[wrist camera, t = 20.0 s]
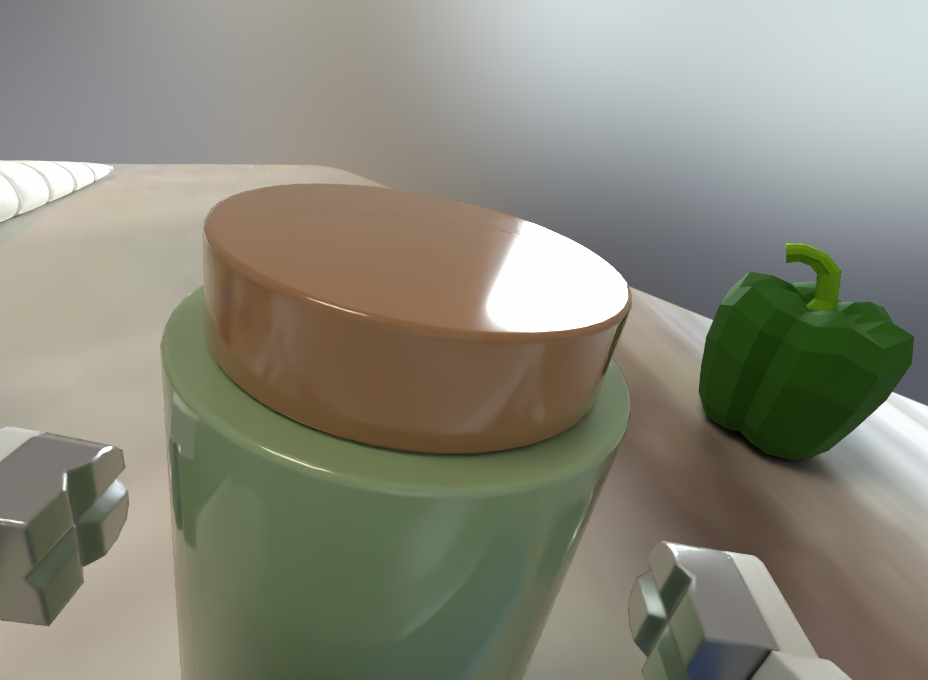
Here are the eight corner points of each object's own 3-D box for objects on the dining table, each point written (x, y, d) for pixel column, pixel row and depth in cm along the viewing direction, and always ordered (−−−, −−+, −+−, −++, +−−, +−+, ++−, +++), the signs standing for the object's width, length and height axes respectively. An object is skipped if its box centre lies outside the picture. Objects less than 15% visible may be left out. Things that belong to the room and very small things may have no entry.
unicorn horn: (158, 182, 47) (154, 125, 45) (-85, 276, 26) (-114, 176, 24) (101, 171, 46) (95, 113, 44) (-193, 258, 25) (-233, 155, 23)
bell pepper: (861, 453, 29) (975, 285, 25) (807, 504, 24) (940, 303, 19) (719, 375, 34) (792, 226, 30) (650, 403, 29) (726, 228, 25)
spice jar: (505, 851, 11) (777, 329, 6) (223, 1078, 8) (215, 421, 3) (392, 626, 15) (488, 188, 9) (173, 722, 12) (128, 158, 6)
